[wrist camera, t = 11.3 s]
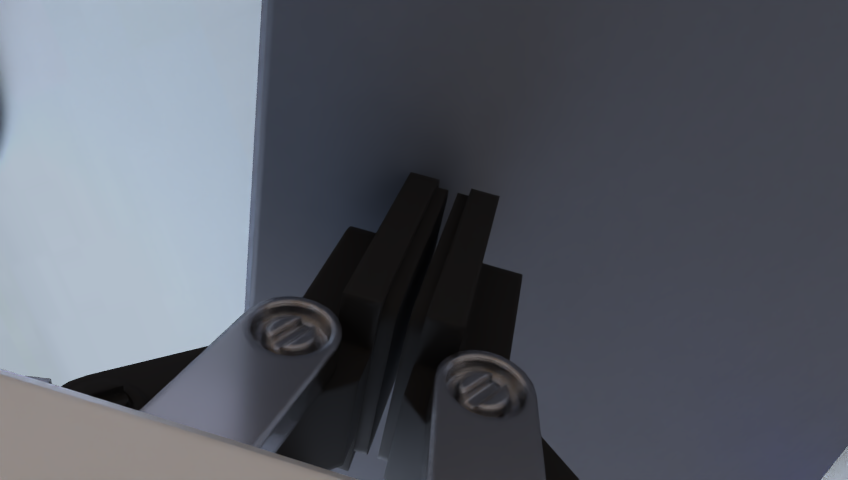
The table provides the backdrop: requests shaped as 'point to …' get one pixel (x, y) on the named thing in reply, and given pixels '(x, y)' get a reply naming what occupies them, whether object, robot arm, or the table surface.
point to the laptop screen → (595, 205)
